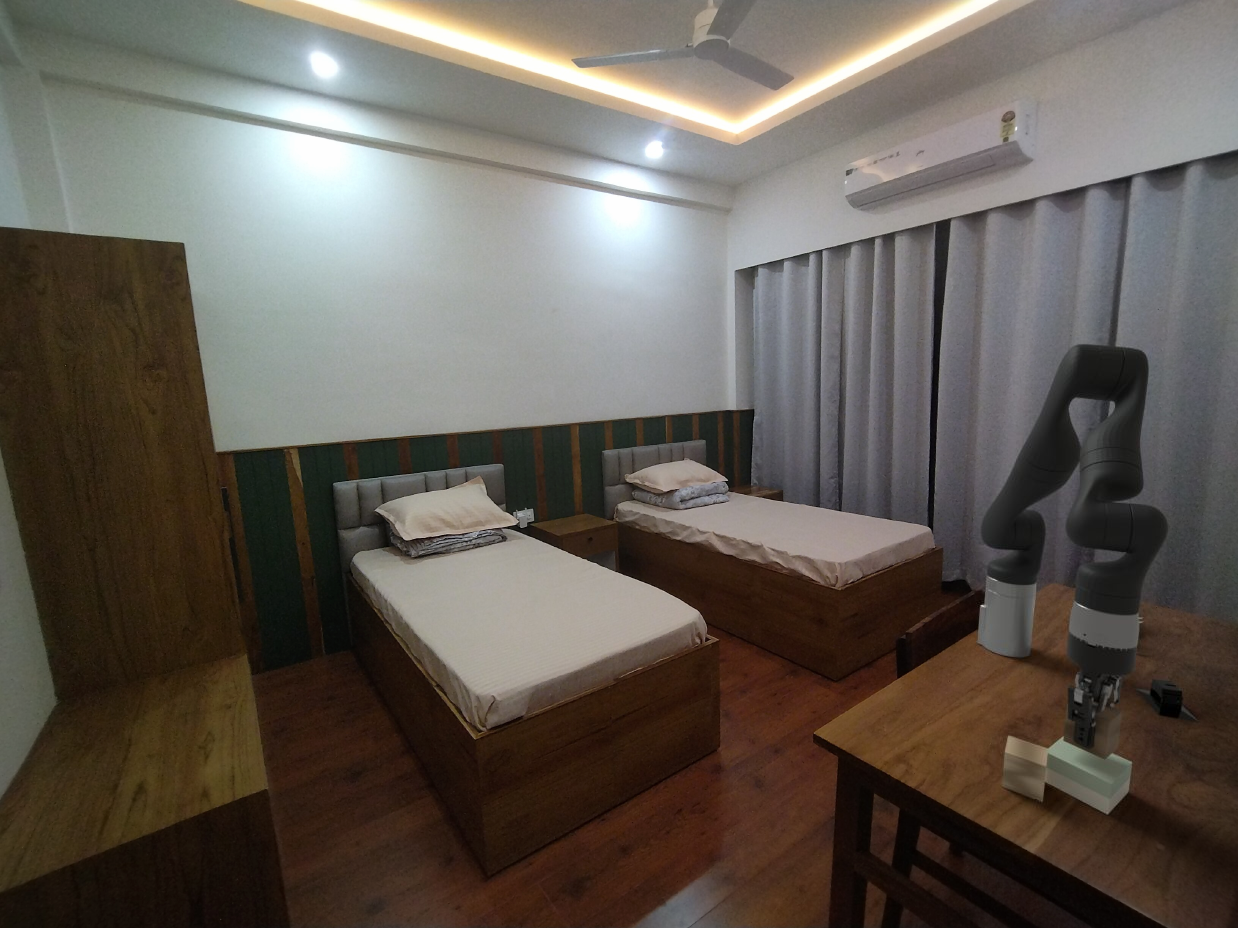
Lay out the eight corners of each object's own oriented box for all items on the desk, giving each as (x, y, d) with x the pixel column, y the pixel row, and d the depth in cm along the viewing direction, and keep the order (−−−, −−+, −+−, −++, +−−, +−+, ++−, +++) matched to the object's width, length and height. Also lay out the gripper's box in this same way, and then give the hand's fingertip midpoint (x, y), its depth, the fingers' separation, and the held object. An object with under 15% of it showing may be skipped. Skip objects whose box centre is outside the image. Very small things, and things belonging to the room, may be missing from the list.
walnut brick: (1063, 740, 81) (1066, 705, 81) (1076, 729, 84) (1080, 694, 83) (1104, 759, 77) (1109, 722, 76) (1118, 747, 80) (1122, 710, 79)
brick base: (1041, 779, 83) (1044, 751, 82) (1064, 760, 87) (1067, 733, 86) (1107, 814, 76) (1111, 783, 76) (1128, 791, 80) (1132, 762, 80)
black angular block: (1209, 731, 94) (1213, 707, 93) (1155, 722, 97) (1159, 699, 96) (1170, 692, 105) (1173, 671, 105) (1123, 685, 108) (1126, 664, 107)
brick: (1001, 786, 82) (1004, 751, 81) (1005, 768, 86) (1008, 735, 85) (1042, 802, 79) (1046, 766, 78) (1044, 783, 83) (1048, 748, 82)
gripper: (1090, 613, 85) (1079, 710, 87) (1049, 637, 78) (1039, 741, 80) (1154, 631, 78) (1140, 735, 81) (1116, 658, 71) (1103, 771, 74)
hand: (1090, 737), depth 80 cm, fingers closed on walnut brick, 5 cm apart
